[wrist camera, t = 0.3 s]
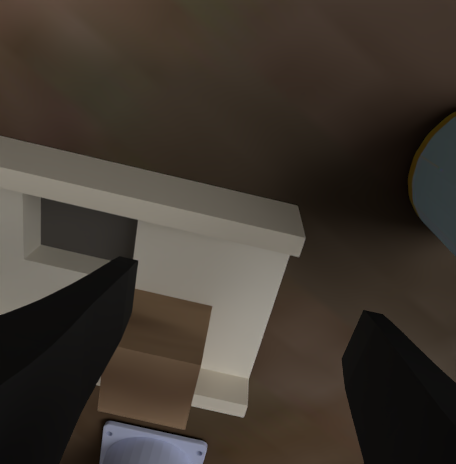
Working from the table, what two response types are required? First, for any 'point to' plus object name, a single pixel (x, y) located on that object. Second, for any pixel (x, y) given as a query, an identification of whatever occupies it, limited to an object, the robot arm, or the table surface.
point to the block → (156, 361)
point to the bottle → (436, 181)
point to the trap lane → (148, 248)
